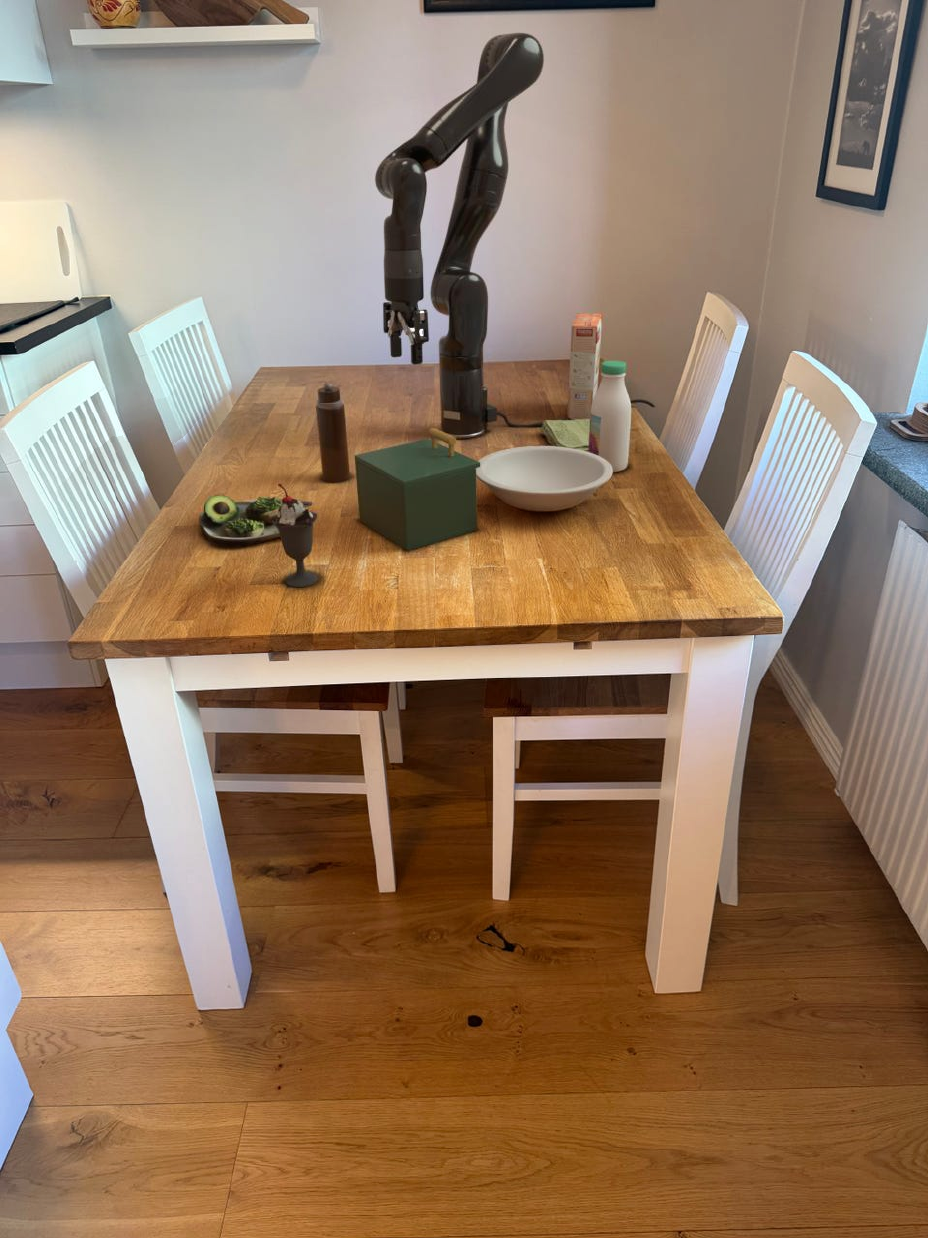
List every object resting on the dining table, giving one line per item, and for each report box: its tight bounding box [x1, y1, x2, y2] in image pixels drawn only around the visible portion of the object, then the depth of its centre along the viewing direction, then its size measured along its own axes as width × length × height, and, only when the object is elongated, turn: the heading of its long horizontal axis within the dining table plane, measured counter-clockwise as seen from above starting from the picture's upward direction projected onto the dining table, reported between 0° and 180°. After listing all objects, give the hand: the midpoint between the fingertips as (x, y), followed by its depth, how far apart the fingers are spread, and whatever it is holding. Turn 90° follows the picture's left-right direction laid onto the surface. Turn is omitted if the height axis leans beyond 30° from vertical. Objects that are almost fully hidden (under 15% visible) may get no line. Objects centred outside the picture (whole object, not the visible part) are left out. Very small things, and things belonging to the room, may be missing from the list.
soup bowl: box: [476, 445, 614, 512], centre depth 162 cm, size 24×24×7 cm
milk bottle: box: [588, 360, 632, 473], centre depth 174 cm, size 8×8×20 cm
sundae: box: [271, 483, 319, 588], centre depth 134 cm, size 7×7×15 cm
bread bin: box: [354, 459, 478, 552], centre depth 153 cm, size 14×16×11 cm
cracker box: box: [566, 312, 603, 420], centre depth 206 cm, size 14×6×21 cm, turn 168°
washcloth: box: [540, 419, 590, 452], centre depth 191 cm, size 13×18×3 cm
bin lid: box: [354, 427, 480, 487], centre depth 149 cm, size 14×16×4 cm
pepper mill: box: [315, 381, 351, 483], centre depth 172 cm, size 5×5×18 cm
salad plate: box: [198, 494, 313, 548], centre depth 156 cm, size 19×18×5 cm
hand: (406, 360), depth 184 cm, fingers open, 8 cm apart
